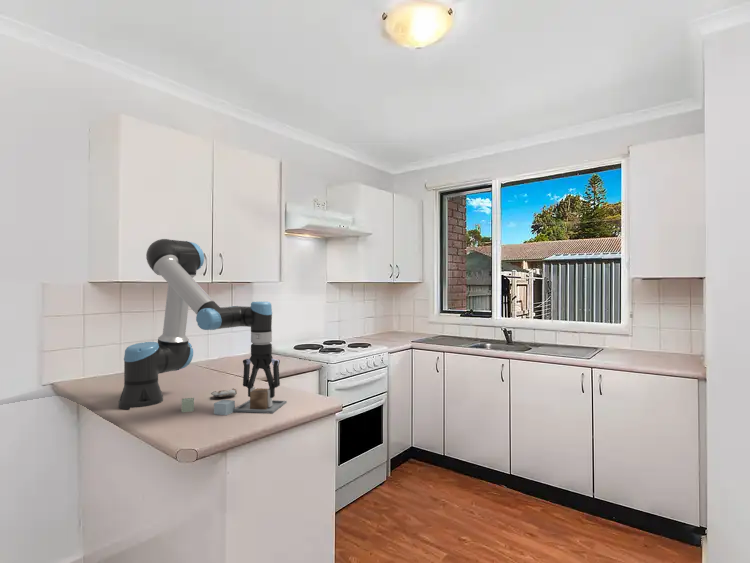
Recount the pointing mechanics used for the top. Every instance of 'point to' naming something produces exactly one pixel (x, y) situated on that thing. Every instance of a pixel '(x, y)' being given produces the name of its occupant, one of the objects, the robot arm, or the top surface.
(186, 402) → the block sage
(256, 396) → the block walnut
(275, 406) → the tray
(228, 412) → the block bluegrey
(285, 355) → the top surface
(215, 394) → the stone
